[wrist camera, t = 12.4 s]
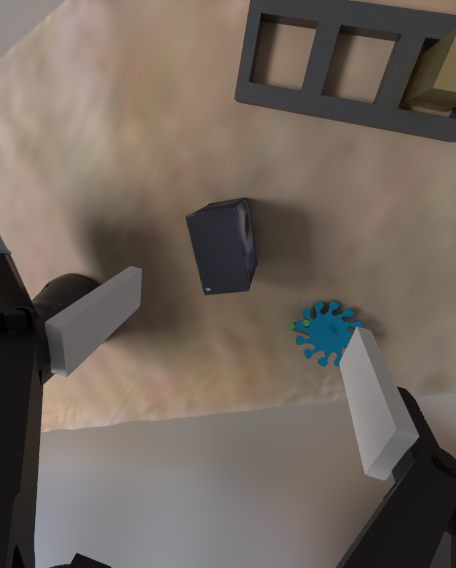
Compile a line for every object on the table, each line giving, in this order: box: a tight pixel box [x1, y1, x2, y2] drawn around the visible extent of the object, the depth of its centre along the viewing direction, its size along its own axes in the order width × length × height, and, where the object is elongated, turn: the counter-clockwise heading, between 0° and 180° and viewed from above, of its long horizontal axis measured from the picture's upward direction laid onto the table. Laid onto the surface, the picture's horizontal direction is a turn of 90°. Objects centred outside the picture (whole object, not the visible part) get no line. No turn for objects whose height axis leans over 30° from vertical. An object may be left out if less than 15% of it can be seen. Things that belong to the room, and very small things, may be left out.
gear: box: [288, 301, 362, 367], centre depth 43 cm, size 11×6×10 cm
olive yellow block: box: [401, 28, 456, 112], centre depth 27 cm, size 4×4×8 cm
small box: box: [186, 198, 257, 295], centre depth 38 cm, size 11×6×10 cm, turn 11°
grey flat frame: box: [234, 0, 456, 142], centre depth 30 cm, size 26×10×2 cm, turn 79°
